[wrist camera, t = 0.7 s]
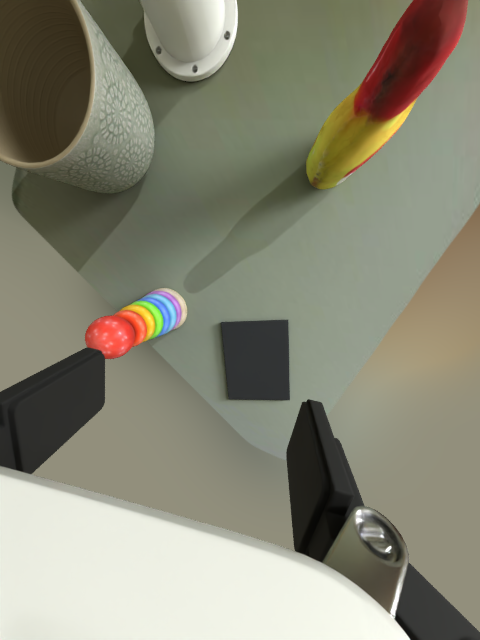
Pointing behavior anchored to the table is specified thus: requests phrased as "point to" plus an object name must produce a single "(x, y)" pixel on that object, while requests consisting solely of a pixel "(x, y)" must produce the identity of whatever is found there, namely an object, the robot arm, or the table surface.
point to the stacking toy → (137, 323)
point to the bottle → (386, 90)
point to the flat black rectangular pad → (257, 359)
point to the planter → (69, 99)
